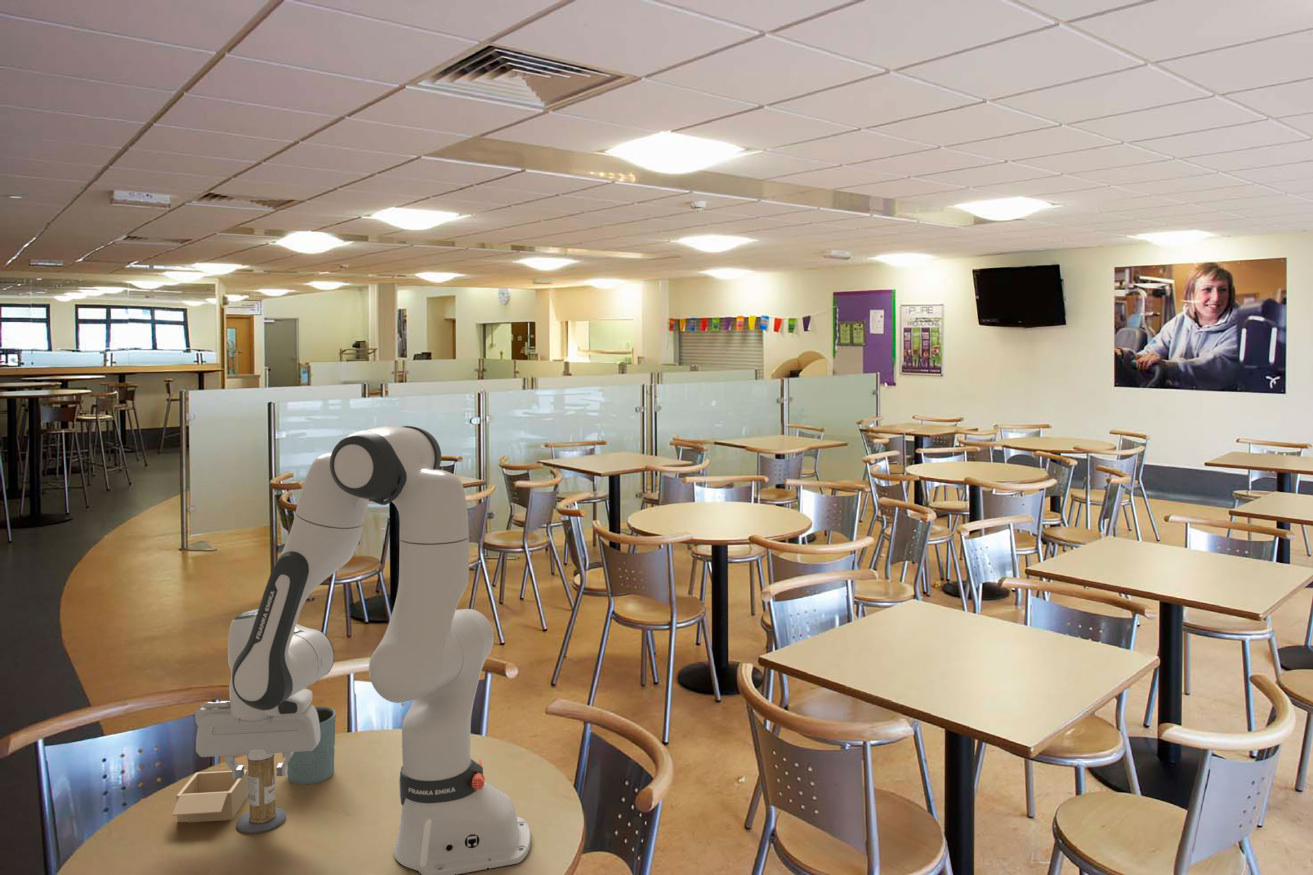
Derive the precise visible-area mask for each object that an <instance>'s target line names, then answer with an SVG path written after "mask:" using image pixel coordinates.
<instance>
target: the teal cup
mask: <svg viewBox="0 0 1313 875" xmlns="http://www.w3.org/2000/svg"><path fill="white" fill-rule="evenodd" d="M314 707H315V708H316V710H317V713H318V718H319V724H320V741H319V743H318V745H317V746H316V747H315V749H314V750H312V751H302V752H294V753H293V755H292V757H291V758H290V760H289V762H288V772H287V774H286V776H287V780H288V781H289V782H290V783H292V784H294V785H307V786H308V785H314V784H317V783H321V782H323V781H326V780H327V779H329V778H330V777H332V776H333V774H334V771H335V743H336V742H335V740H336V723H337V722H336V720H337V716H336V715H337V713H336V711H335V709H334V708H330V707H326V706H314Z"/></svg>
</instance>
